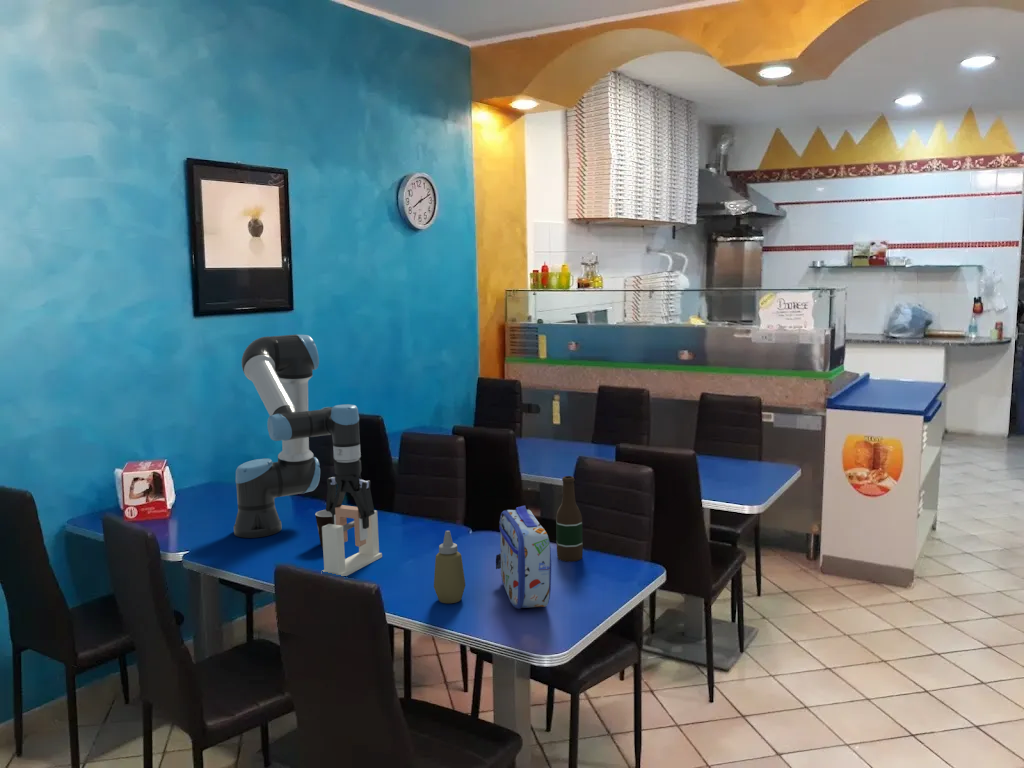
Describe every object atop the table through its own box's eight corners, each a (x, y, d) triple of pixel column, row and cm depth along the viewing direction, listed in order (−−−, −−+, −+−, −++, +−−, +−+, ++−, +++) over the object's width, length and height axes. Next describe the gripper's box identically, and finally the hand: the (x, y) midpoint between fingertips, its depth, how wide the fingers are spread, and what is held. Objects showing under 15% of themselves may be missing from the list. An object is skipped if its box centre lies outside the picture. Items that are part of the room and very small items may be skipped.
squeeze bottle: (434, 594, 215) (431, 527, 213) (465, 592, 216) (463, 525, 214) (434, 606, 207) (431, 537, 205) (466, 605, 208) (464, 535, 206)
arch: (337, 543, 238) (335, 507, 237) (343, 540, 241) (341, 505, 240) (359, 546, 235) (357, 510, 233) (366, 543, 237) (364, 507, 236)
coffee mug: (338, 549, 254) (336, 517, 253) (312, 547, 256) (310, 516, 254) (353, 537, 265) (351, 506, 264) (328, 536, 267) (326, 506, 266)
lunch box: (493, 578, 226) (491, 500, 223) (530, 575, 228) (529, 497, 225) (515, 618, 199) (513, 529, 196) (557, 614, 201) (555, 526, 198)
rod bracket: (321, 574, 232) (318, 526, 230) (362, 554, 249) (360, 508, 247) (341, 578, 229) (339, 529, 227) (382, 557, 246) (379, 511, 244)
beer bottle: (586, 554, 243) (584, 474, 240) (579, 563, 236) (578, 480, 233) (560, 552, 246) (559, 473, 243) (553, 560, 239) (551, 479, 236)
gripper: (309, 459, 236) (314, 537, 239) (369, 465, 227) (373, 545, 230) (326, 454, 243) (330, 529, 246) (385, 459, 233) (389, 537, 236)
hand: (351, 537), depth 238 cm, fingers closed on arch, 8 cm apart
